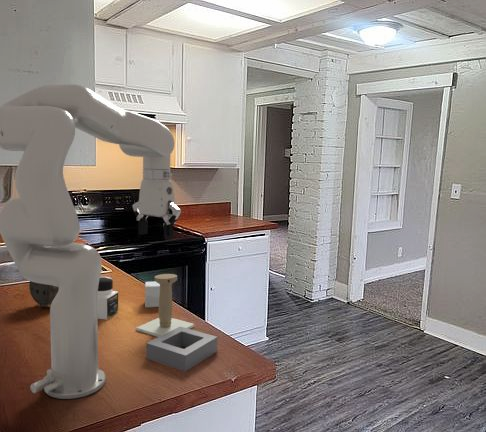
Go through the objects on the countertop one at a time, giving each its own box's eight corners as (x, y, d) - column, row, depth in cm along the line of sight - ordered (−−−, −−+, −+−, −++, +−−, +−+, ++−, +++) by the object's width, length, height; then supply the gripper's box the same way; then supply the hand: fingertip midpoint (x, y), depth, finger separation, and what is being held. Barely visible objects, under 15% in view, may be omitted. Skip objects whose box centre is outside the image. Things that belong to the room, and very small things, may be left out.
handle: (152, 324, 132) (152, 275, 130) (172, 321, 135) (173, 273, 133) (157, 330, 128) (158, 279, 126) (178, 326, 131) (179, 277, 129)
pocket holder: (185, 371, 106) (185, 355, 105) (146, 358, 112) (146, 343, 111) (217, 351, 117) (217, 336, 117) (179, 340, 123) (180, 326, 123)
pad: (168, 339, 123) (168, 337, 123) (135, 330, 129) (135, 327, 129) (194, 326, 134) (194, 323, 134) (163, 318, 140) (163, 315, 140)
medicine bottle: (107, 320, 136) (107, 282, 135) (86, 318, 138) (85, 280, 136) (118, 312, 143) (118, 276, 142) (98, 310, 145) (97, 274, 143)
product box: (163, 307, 150) (163, 286, 149) (144, 308, 148) (144, 286, 147) (162, 301, 156) (163, 280, 155) (145, 302, 154) (145, 281, 153)
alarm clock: (64, 308, 146) (63, 259, 143) (51, 313, 141) (49, 263, 139) (40, 302, 150) (38, 255, 148) (26, 307, 145) (24, 258, 143)
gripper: (189, 177, 124) (187, 238, 126) (143, 174, 133) (142, 231, 135) (171, 177, 117) (169, 241, 119) (124, 174, 126) (124, 234, 128)
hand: (155, 236), depth 127 cm, fingers open, 9 cm apart
